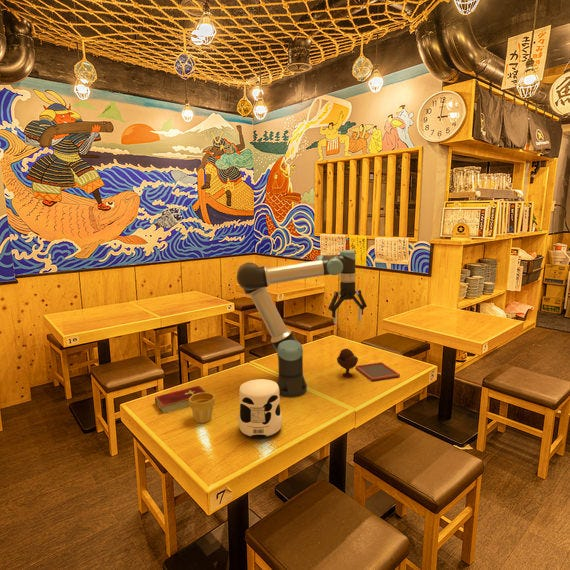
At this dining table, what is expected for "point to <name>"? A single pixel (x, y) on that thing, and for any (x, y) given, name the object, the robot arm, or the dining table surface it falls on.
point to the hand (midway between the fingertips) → (347, 322)
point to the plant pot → (202, 406)
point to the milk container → (259, 408)
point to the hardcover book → (177, 399)
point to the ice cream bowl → (347, 361)
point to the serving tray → (377, 371)
